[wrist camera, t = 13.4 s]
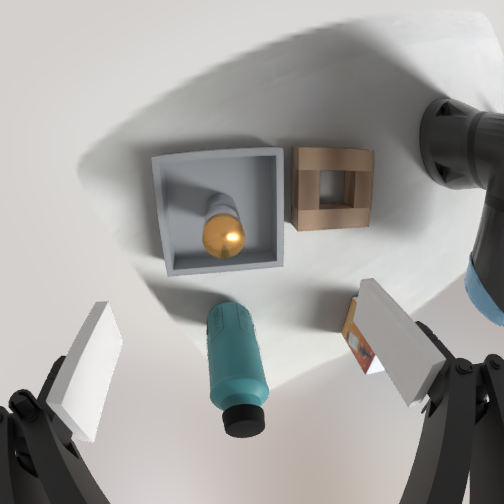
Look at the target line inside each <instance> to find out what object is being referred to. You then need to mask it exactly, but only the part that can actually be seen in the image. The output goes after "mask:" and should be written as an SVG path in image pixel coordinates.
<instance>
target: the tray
mask: <svg viewBox="0 0 504 504" xmlns="http://www.w3.org/2000/svg"><path fill="white" fill-rule="evenodd" d="M151 161H152V172H153V181H154V190H155V199H156V207H157V214H158V221H159V228H160V235H161V241H162V247H163V253H164V259H165V265H166V270H167V275H168V276H180V275H192V274H205V273H216V272H228V271H239V270H251V269H261V268H272V267H283V256H284V152H283V148H280V147H246V148H227V149H212V150H200V151H190V152H180V153H171V154H163V155H157V156H154V157H151ZM217 193H225V194H228V195H230V196H231V197H232V198H233V199H234V201H235V204H236V207H237V210H238V213H239V217H240V220H241V223H242V226H243V229H244V233H245V243H244V246H243V248H242V249H241V250H240V252H239V253H237V254H236V255H234V256H232V257H229V258H217V257H214V256H212V255H211V254H210V253H208V252H207V250H206V249H205V247H204V245H203V242H202V235H203V226H204V218H205V210H206V204H207V201H208V200H209V198H210V197H211V196H213V195H214V194H217Z"/></svg>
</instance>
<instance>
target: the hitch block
mask: <svg viewBox="0 0 504 504" xmlns="http://www.w3.org/2000/svg"><path fill="white" fill-rule="evenodd" d="M291 157H292V209H291V224H292V225H293V226H294V227H295V229H296V230H297V231H311V230H326V229H342V228H359V227H369V221H370V210H371V199H372V185H373V167H374V151H369V150H363V149H349V148H330V147H291ZM320 170H345V186H344V203H319V193H320Z"/></svg>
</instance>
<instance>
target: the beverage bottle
mask: <svg viewBox="0 0 504 504" xmlns="http://www.w3.org/2000/svg"><path fill="white" fill-rule="evenodd" d="M208 315H209V316H207V317H208V318H207V319H208V320H207V322H206V323H207V329H206V330H207V335H208V339H207V340H208V343H207V344H208V346H207V347H208V348H207V349H208V351H207V352H208V354H207V355H208V360H209V374H210V399H211V401H212V403H213V404H214V405H215V406H216V407H218V408H219V409H221V410H223V411H224V412H223V414H222V419H223V422H224V427H225V431H226V433H227V434H228V435H230V436H232V437H237V438H247V437H252V436H255V435H258V434H260V433H261V432H262V431H263V430H264V428H265V421H264V411H263V409H262V408H261V407H260V406H261V405H262V404H263V403H264V402H265V401H266V400H267V398H268V395H269V388H268V386H267V383H266V379H265V375H264V370H263V366H262V362H261V357H260V352H259V348H260V347H259V348H258V344H257V340H256V336H255V332H254V330H255V329H254V328H253V327H254V324H252V320H251V319H252V316H250V315H251V313H249V311H248V310H247V309H246V308H245V307H244V306H242V305H241V304H238V303H235V302H225V303H221V304H219V305H217V306H215V307H214V308H213V309H212V310H211V312H210V314H208ZM261 356H262V355H261Z"/></svg>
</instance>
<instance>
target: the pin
mask: <svg viewBox="0 0 504 504" xmlns="http://www.w3.org/2000/svg"><path fill="white" fill-rule="evenodd" d="M202 242H203V245H204V247H205V249H206V250H207V252H208V253H210V254H211V255H212V256H214V257H217V258H229V257H232V256H234V255H236V254H237V253H239V252H240V250H241V249H242V248H243V246H244V243H245V233H244V229H243V226H242V223H241V220H240V217H239V213H238V210H237V207H236V204H235V201H234V199H233V198H232V197H231V196H230V195H228V194H225V193H217V194H214V195H213V196H211V197H210V198H209V200H208V201H207V204H206V210H205V218H204V226H203V235H202Z"/></svg>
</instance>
